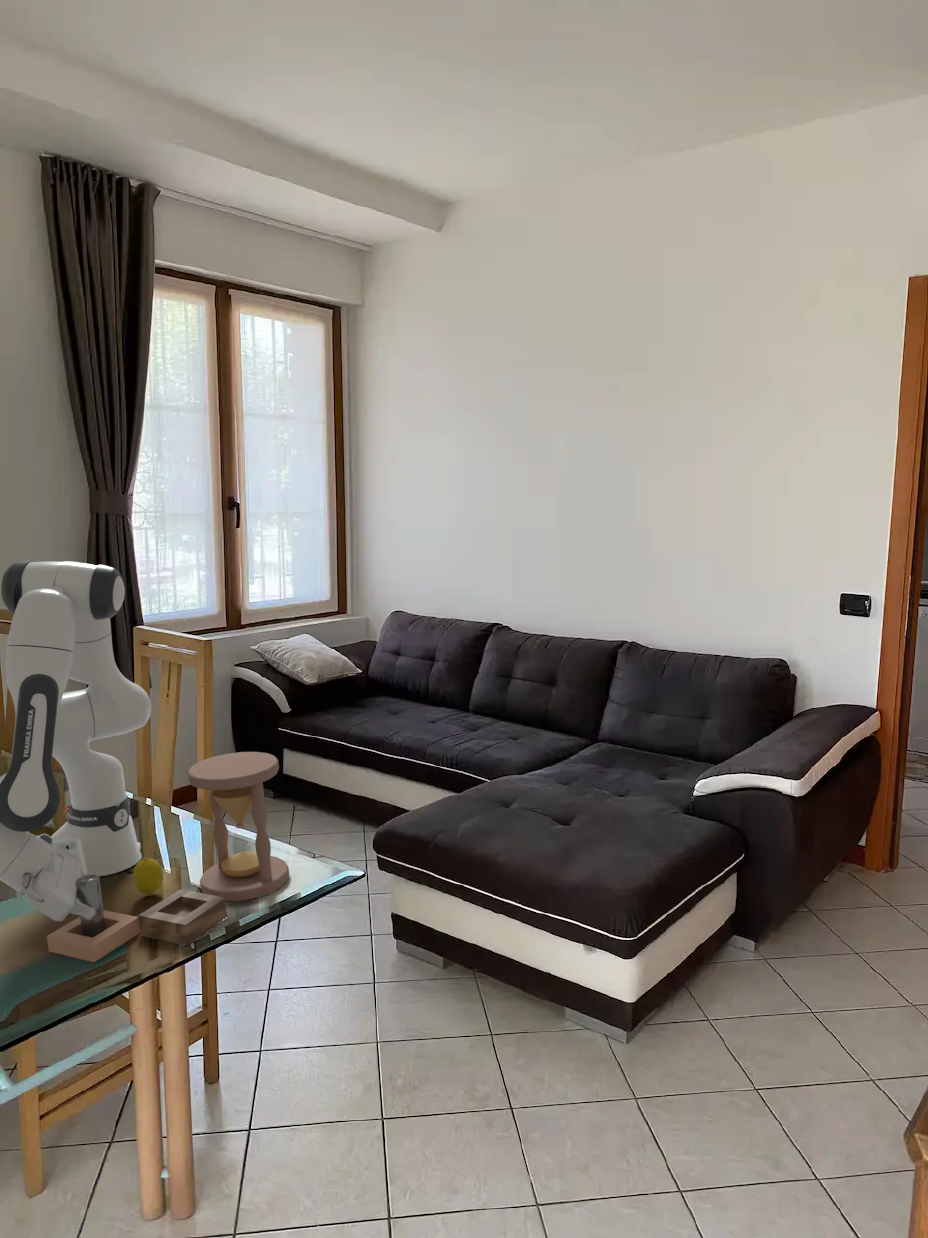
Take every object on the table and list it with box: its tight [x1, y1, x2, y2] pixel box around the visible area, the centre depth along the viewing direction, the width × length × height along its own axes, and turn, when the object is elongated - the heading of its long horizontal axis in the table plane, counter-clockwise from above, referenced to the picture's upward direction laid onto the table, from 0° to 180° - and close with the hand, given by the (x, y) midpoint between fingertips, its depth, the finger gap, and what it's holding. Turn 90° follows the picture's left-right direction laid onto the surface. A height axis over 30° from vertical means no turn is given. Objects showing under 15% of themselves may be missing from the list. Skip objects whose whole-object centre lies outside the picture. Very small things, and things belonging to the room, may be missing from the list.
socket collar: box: [46, 909, 140, 963], centre depth 168 cm, size 11×11×3 cm
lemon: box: [133, 856, 164, 896], centre depth 185 cm, size 6×6×8 cm
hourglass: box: [187, 751, 290, 903], centre depth 187 cm, size 18×18×25 cm
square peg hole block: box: [137, 889, 229, 946], centre depth 172 cm, size 11×11×4 cm
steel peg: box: [76, 875, 106, 938], centre depth 167 cm, size 4×4×12 cm
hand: (94, 905), depth 167 cm, fingers open, 6 cm apart
